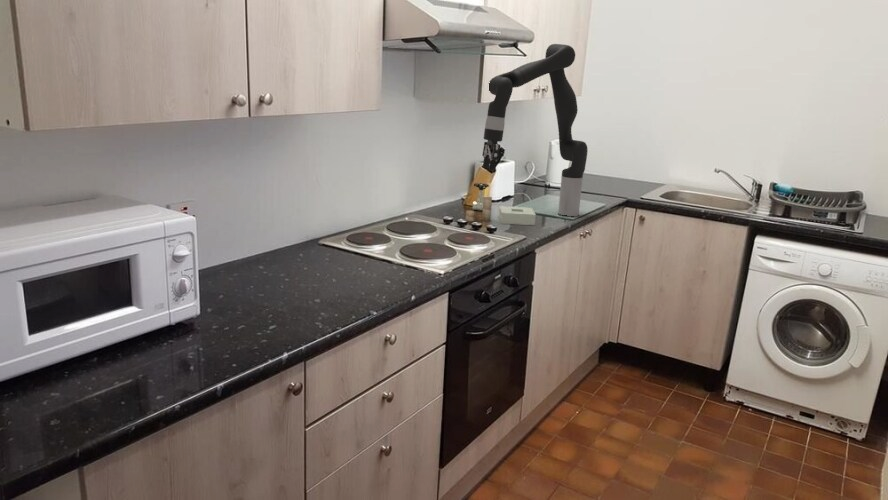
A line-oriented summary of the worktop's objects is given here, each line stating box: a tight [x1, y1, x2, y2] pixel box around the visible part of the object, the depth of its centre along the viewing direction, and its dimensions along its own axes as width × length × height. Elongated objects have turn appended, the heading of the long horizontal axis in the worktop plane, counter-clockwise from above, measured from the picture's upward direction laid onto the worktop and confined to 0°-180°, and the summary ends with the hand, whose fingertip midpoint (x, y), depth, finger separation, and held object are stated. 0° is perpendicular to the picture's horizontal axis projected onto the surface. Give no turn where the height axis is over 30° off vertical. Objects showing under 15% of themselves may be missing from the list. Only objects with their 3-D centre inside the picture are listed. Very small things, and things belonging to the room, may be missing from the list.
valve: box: [472, 182, 490, 211], centre depth 292 cm, size 7×7×12 cm
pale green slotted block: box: [498, 205, 537, 226], centre depth 275 cm, size 14×14×4 cm
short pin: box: [465, 209, 475, 223], centre depth 272 cm, size 4×4×4 cm
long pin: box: [481, 195, 493, 222], centre depth 273 cm, size 4×4×10 cm
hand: (488, 169), depth 262 cm, fingers open, 8 cm apart
